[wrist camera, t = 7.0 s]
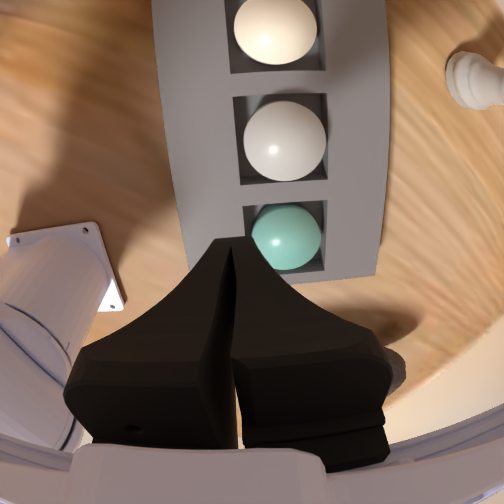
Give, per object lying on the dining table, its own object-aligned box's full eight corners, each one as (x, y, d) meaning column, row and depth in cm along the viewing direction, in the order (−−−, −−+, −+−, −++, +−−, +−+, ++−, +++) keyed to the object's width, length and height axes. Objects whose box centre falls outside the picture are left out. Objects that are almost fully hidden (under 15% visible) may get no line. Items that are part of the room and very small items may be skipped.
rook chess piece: (486, 61, 16) (564, 74, 9) (481, 114, 18) (557, 143, 11) (443, 43, 15) (524, 45, 9) (439, 101, 18) (517, 125, 11)
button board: (196, 276, 24) (194, 292, 22) (158, -6, 14) (150, -14, 12) (365, 260, 24) (374, 275, 22) (370, -11, 14) (382, -18, 12)
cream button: (237, 67, 16) (237, 66, 15) (231, -2, 14) (231, -7, 13) (314, 64, 16) (319, 63, 15) (308, -3, 14) (313, -8, 13)
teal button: (253, 263, 23) (254, 272, 22) (248, 204, 20) (249, 211, 19) (315, 257, 23) (319, 266, 22) (316, 199, 20) (321, 206, 19)
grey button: (246, 177, 19) (247, 184, 17) (240, 103, 16) (240, 104, 15) (320, 172, 19) (325, 178, 17) (319, 99, 16) (325, 101, 15)
